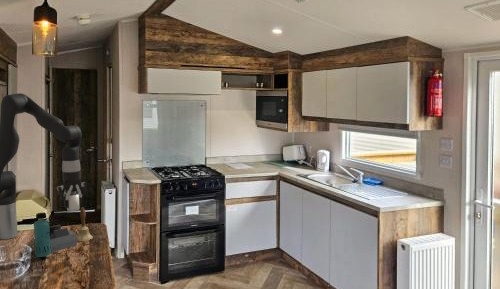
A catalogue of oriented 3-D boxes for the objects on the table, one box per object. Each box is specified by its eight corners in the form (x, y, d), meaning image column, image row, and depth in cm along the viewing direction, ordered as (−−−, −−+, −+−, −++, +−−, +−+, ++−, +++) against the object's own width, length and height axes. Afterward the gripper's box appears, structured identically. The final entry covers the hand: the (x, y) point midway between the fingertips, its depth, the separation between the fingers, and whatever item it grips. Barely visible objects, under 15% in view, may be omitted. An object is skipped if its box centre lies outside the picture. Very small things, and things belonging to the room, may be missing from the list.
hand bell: (94, 239, 212) (93, 208, 211) (76, 242, 208) (75, 210, 206) (90, 234, 219) (89, 204, 218) (73, 237, 215) (72, 206, 213)
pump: (65, 209, 197) (64, 191, 196) (76, 207, 201) (75, 189, 200) (70, 211, 193) (69, 193, 192) (81, 209, 197) (80, 191, 196)
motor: (40, 255, 192) (38, 234, 191) (32, 251, 197) (31, 231, 196) (76, 245, 204) (75, 226, 203) (68, 241, 210) (67, 222, 208)
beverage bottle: (33, 261, 185) (30, 215, 183) (36, 255, 192) (34, 211, 189) (50, 259, 187) (47, 214, 185) (52, 254, 193) (50, 210, 191)
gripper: (82, 166, 202) (83, 202, 205) (51, 171, 192) (53, 208, 194) (90, 168, 198) (92, 204, 200) (59, 173, 187) (61, 211, 189)
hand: (73, 206), depth 197 cm, fingers closed on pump, 5 cm apart
